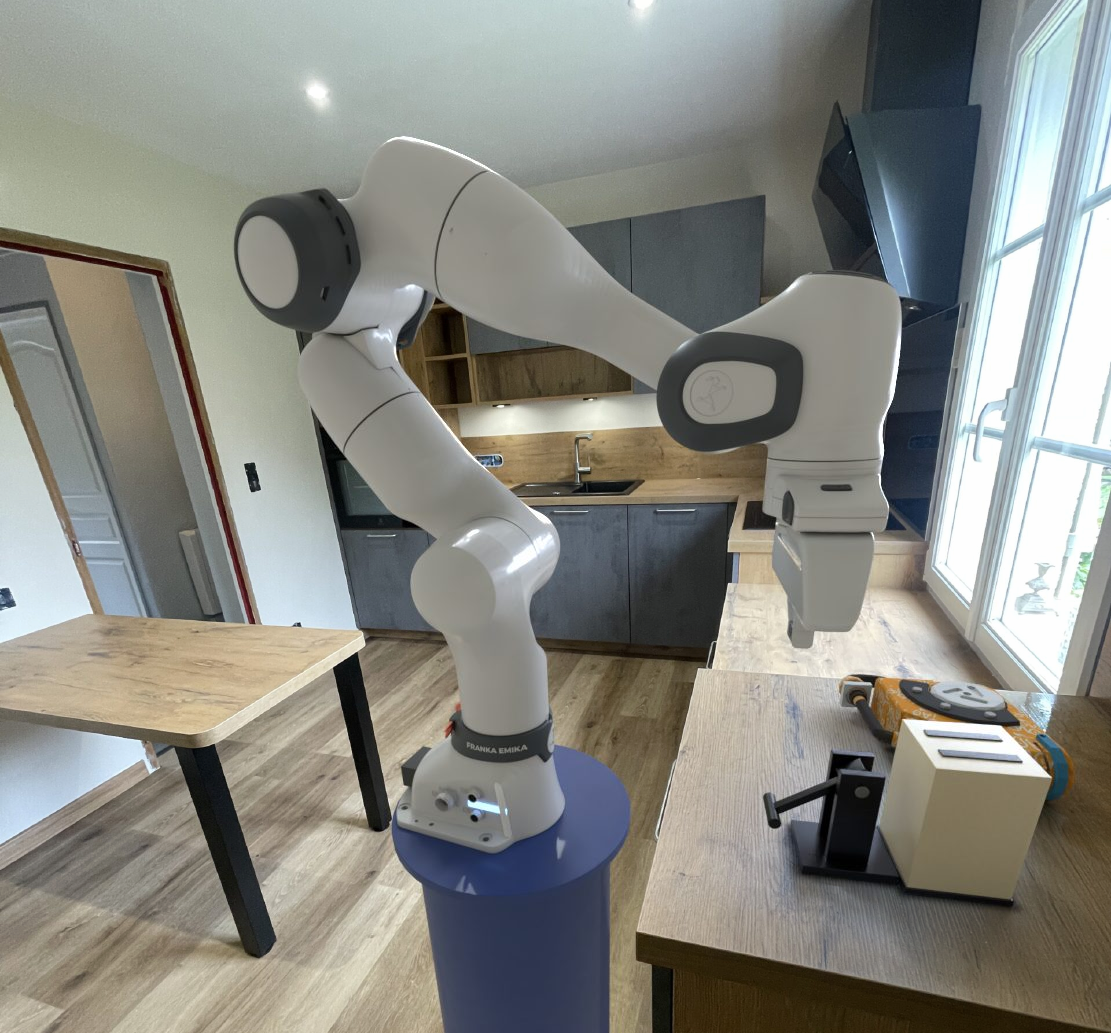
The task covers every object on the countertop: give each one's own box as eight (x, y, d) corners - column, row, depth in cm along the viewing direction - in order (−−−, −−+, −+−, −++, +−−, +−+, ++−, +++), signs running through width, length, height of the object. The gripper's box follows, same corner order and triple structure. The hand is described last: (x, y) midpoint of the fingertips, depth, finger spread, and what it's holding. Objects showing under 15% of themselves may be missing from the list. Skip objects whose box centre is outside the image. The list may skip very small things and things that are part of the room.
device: (892, 746, 75) (835, 655, 102) (881, 799, 78) (828, 696, 105) (1094, 760, 71) (979, 661, 98) (1074, 815, 74) (967, 704, 101)
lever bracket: (801, 873, 66) (816, 779, 61) (790, 827, 73) (802, 740, 69) (897, 885, 64) (920, 789, 59) (875, 836, 71) (894, 747, 67)
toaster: (904, 893, 63) (935, 768, 57) (875, 830, 72) (899, 716, 67) (1012, 907, 61) (1056, 778, 55) (968, 839, 70) (1002, 723, 64)
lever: (774, 833, 67) (763, 818, 66) (768, 806, 71) (758, 792, 71) (879, 793, 62) (868, 776, 62) (865, 766, 67) (855, 751, 66)
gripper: (764, 478, 59) (752, 606, 65) (800, 512, 41) (779, 688, 46) (830, 478, 58) (812, 608, 63) (898, 512, 40) (865, 693, 45)
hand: (798, 642), depth 54 cm, fingers closed
